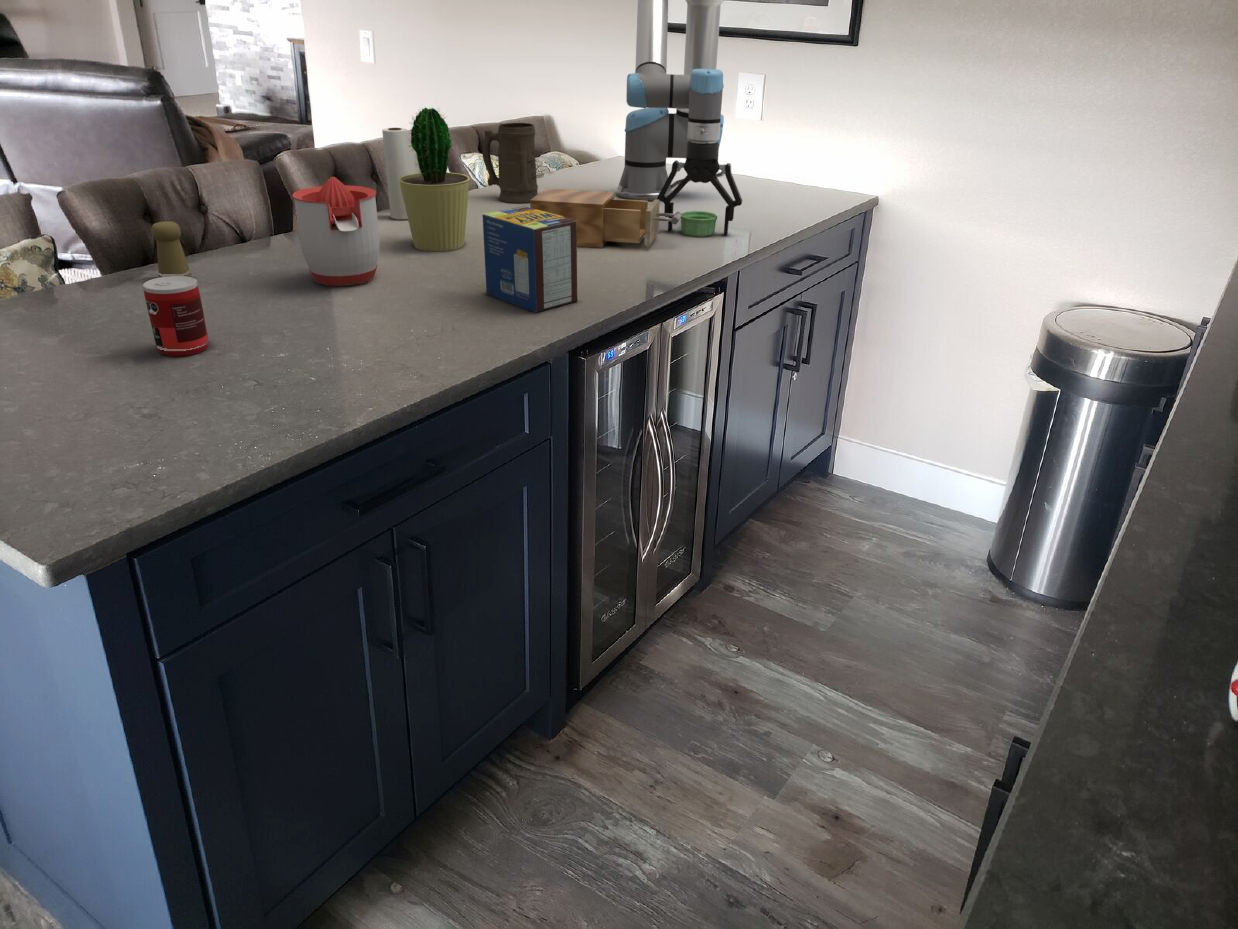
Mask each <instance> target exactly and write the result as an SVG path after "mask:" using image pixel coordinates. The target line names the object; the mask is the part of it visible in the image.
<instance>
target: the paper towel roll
mask: <svg viewBox="0 0 1238 929" xmlns="http://www.w3.org/2000/svg"><path fill="white" fill-rule="evenodd" d="M381 132H382V141H383V142H382V143H383V152H384V164H385V174H386V184H387V193H388V194H387V195H388V205H389V216H390V219H393V220H408V217H407V213H406V208H405V204H404V200H403V195H402V191H401V187H400V181H399V178H400V177H402V176H405V175H409V174H415V173H421V170H420V168H419V166H418V165H419V164H418V160H417V157H416V152H415V150H413V149H412V146H411V145H412V144H411V141H410V140H411V130H410V129H408V128H406V127H405V128H404V127H386V128H383V129H381ZM408 132H409V133H410V134H409V133H408ZM408 140H409V141H408ZM409 142H410V143H409ZM408 146H411V147H408ZM411 149H412V150H411ZM415 161H416V162H415ZM416 163H417V164H418V165H417V164H416ZM414 165H415V166H414ZM416 167H417V168H416Z"/></svg>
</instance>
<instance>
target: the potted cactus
mask: <svg viewBox="0 0 1238 929" xmlns="http://www.w3.org/2000/svg"><path fill="white" fill-rule="evenodd" d="M428 107H429V108H427V107H425V106H424V107H420V110H419V111H418V113H417V114H415V116H414V115H411V118H412V119H411V122H409V125H410V128H409V130H411V140H410V141H411V144H412V145H411V146H412V149H413V150H415V152H416V157H417V160H418V164H419V165H418V164H417V163H416V164H417V165H418V166H419V168H420V173H415V174H409V175H405V176H402V177H400V178H399V181H400V187H401V191H402V195H403V200H404V204H405V208H406V213H407V217H408V219H407V221H408V224H409V229H410V234H411V238H412V243H413V246H414V248H415V249H418V250H420V251H427V252H447V251H454V250H459V249H461V248H462V247H464V245H465V238H466V227H467V225H466V224H467V215H468V214H467V213H468V201H469V191H470V190H469V189H470V181H471V177H470V176H469V175H467V174H464V173H457V172H448V170H450V169H451V167H449V163H450V162H449V157H450V158H453V155H451V154H450V150H451V151H454V150H453V149H452V147H453V145H452V142H453V141H454V140H455V138H453V139H451V138H452V137H453V135H452V134H453V133H455V131H452V132H449V131H450V130H449V129H450V127H449V125H448V123H447V122H446V121H445V119H446V118H447V116H445V114H444V113H441V110H440V108H438V107H437V108H434V107H431V106H428ZM444 116H445V117H444ZM411 125H412V126H411ZM408 133H409V132H408ZM409 134H410V133H409ZM408 141H409V140H408ZM409 143H410V142H409ZM411 146H408V147H411ZM412 149H411V150H412ZM415 162H416V161H415ZM451 162H454V161H452V160H451ZM414 166H415V165H414ZM416 168H417V167H416Z"/></svg>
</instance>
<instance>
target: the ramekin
mask: <svg viewBox="0 0 1238 929" xmlns="http://www.w3.org/2000/svg"><path fill="white" fill-rule="evenodd" d="M680 213H681V214H682V216H681V218H680V231H681V234H683V235H686V236H689V237H698V238H699V237H700V238H702V237H710V236H713V235H714V234H715V231H716V223H717V220H718V214H717V213H714V212H711V211H704V210H691V211H690V210H689V211H683V212H680Z"/></svg>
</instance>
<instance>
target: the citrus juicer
mask: <svg viewBox="0 0 1238 929" xmlns="http://www.w3.org/2000/svg"><path fill="white" fill-rule="evenodd" d="M376 195H377V191H376V190H375V189H373V188H370V187H367V186H360V185H348V184H347V185H346V184H344V183H343V182H342V181H341V180H339V179H338V178H337V177H335V176H330V177H329V178H328V179H327V180H326V181H325V182H324V184H323V185H320V186H313V187H307V188H302V189H298V190H297V191H294V192H293V193H292V195H291V197H292V198H293V200H294V209H295V214H296V223H297V229H298V235H299V242H300V246H301V251H302V254H303V257H304V260H305V263H306V265H307V267H308V270H309V272H310V275H311V276H312V278H313V279H314V281H315V282H317V283H319V284H322V285H326V286H328V287H338V286H351V285H358V284H365V283H369V282H370V281H371V280H372V279H374V278H375V275H376V273H377V269H378V262H379V261H378V260H379V256H380V255H379V254H380V229H379V222H378V221H379V220H378V210H377V209H378V208H377V201H376Z"/></svg>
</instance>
